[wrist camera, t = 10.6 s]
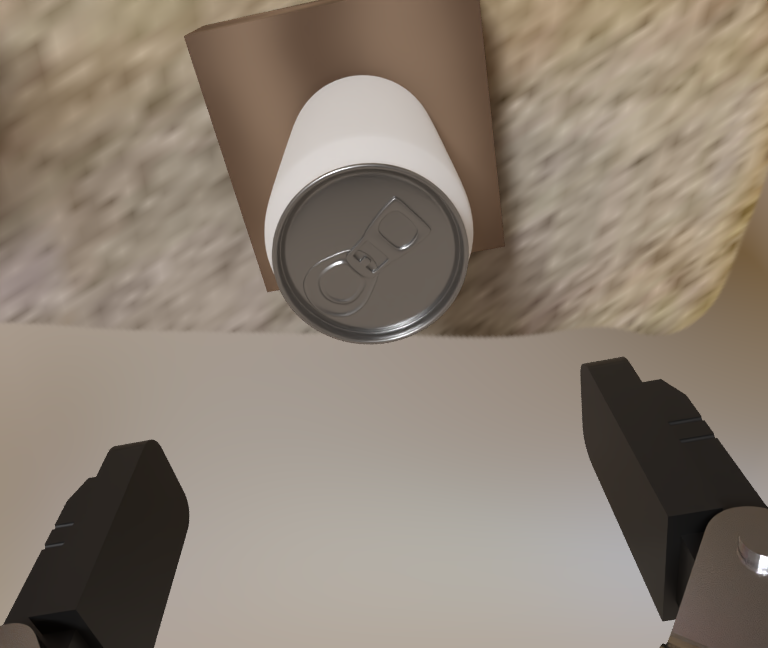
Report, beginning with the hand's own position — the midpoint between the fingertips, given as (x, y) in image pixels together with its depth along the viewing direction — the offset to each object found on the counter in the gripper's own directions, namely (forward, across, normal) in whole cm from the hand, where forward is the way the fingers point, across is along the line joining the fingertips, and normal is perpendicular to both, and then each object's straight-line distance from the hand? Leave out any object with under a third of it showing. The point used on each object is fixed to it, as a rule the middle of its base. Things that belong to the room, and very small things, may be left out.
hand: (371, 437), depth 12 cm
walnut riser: (+23, 0, 0) cm, 23 cm away
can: (+19, 0, 0) cm, 19 cm away
